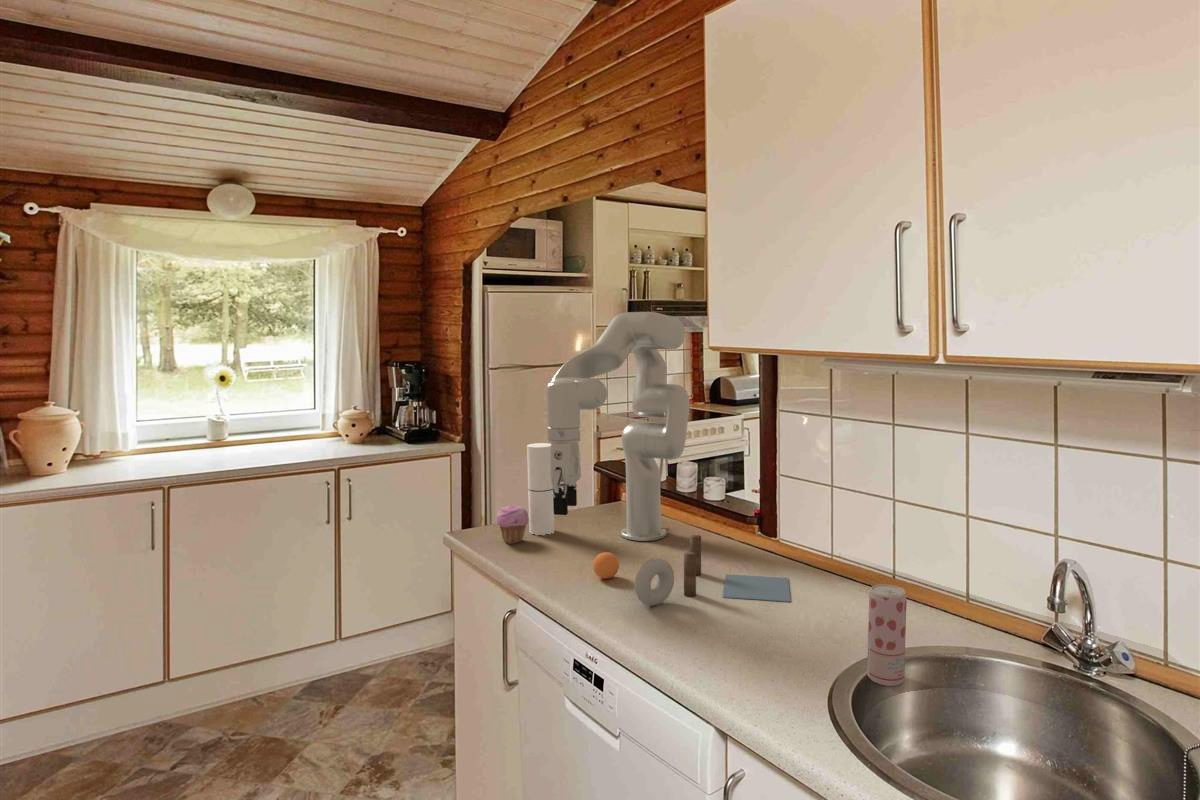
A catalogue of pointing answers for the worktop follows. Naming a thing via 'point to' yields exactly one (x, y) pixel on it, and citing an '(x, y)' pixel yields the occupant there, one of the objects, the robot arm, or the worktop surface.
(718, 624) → the worktop surface
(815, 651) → the worktop surface
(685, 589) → the post
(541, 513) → the cylindrical container
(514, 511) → the cupcake
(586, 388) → the robot arm
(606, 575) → the ball
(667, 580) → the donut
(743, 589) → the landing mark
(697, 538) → the post
